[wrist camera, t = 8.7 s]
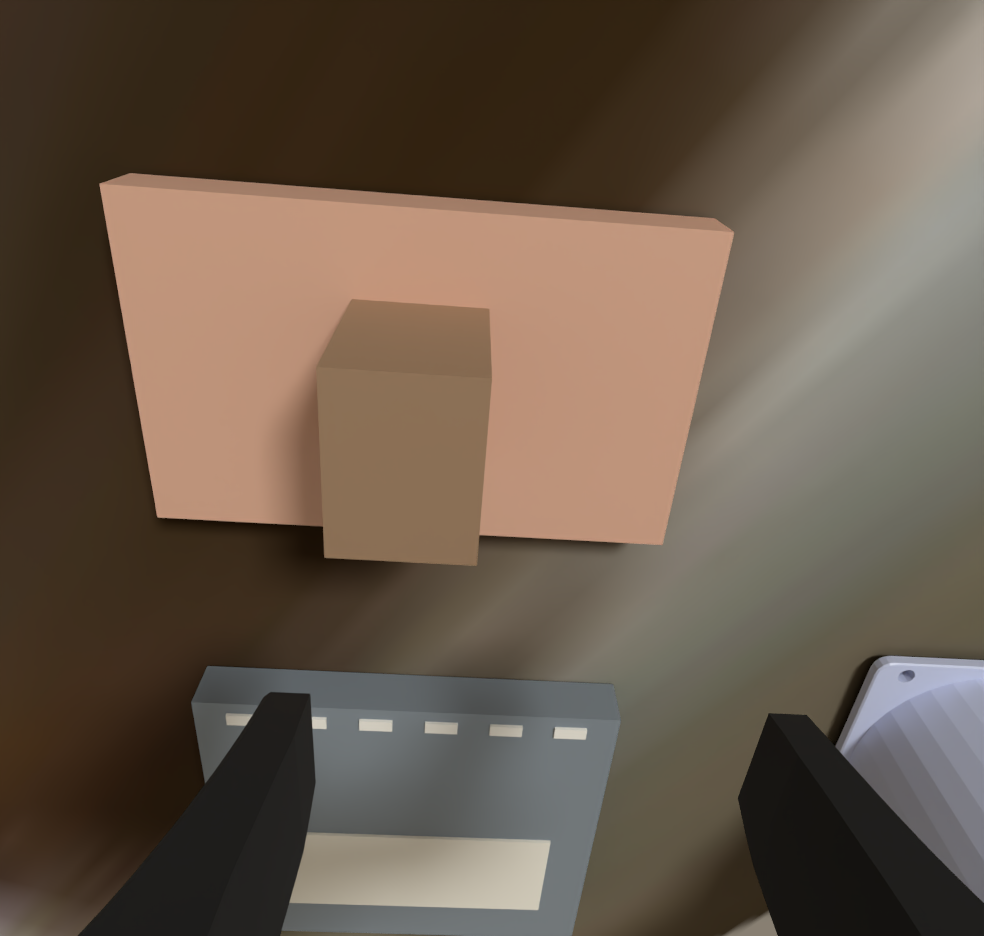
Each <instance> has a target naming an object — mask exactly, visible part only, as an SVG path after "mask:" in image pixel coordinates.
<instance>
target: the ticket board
mask: <svg viewBox="0 0 984 936" xmlns="http://www.w3.org/2000/svg"><path fill="white" fill-rule="evenodd" d="M270 692H285V693H308V694H310V697H311V713H312V729H313V745H314V762H315V778H316V784H315V790H314V796H313V802H312V807H311V813H310V819H309V825H308V830H307V836H306V841H305V847H304V852H303V855H302V859H301V863H300V866H299V870H298V873H297V877H296V881H295V884H294V888H293V891H292V895H291V899H290V902H289V906H288V909H287V913H286V916H285V920H284V923H283V927H282V930H281V931H315V932H352V933H389V934H425V935H462V936H572V932H573V928H574V923H575V919H576V915H577V910H578V906H579V901H580V897H581V893H582V888H583V884H584V880H585V875H586V871H587V867H588V862H589V858H590V853H591V849H592V845H593V840H594V836H595V832H596V827H597V823H598V818H599V814H600V810H601V805H602V801H603V797H604V792H605V788H606V783H607V779H608V775H609V770H610V766H611V762H612V757H613V753H614V749H615V744H616V740H617V735H618V731H619V727H620V722H621V719H620V714H619V709H618V704H617V700H616V695H615V690H614V686H613V684H598V683H576V682H554V681H531V680H509V679H487V678H464V677H442V676H420V675H397V674H375V673H353V672H330V671H308V670H286V669H263V668H241V667H219V666H207V668H206V670H205V672H204V675H203V677H202V679H201V681H200V684H199V686H198V688H197V690H196V693H195V695H194V697H193V699H192V702H191V704H192V710H193V716H194V722H195V727H196V733H197V739H198V745H199V751H200V756H201V762H202V768H203V774H204V780H205V783H206V782H207V781H208V779H209V778H210V777H211V775H212V774H213V773H214V771H215V770H216V768H217V767H218V766H219V764H220V763H221V761H222V760H223V758H224V757H225V756H226V754H227V753H228V751H229V750H230V748H231V747H232V745H233V744H234V742H235V741H236V740H237V738H238V737H239V735H240V734H241V732H242V731H243V729H244V727H245V726H246V724H247V723H248V721H249V720H250V718H251V717H252V715H253V713H254V712H255V710H256V709H257V707H258V705H259V704H260V702H261V700H262V699H263V697H264V696H265V695H267V694H268V693H270Z"/></svg>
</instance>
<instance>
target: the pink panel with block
mask: <svg viewBox="0 0 984 936" xmlns="http://www.w3.org/2000/svg"><path fill="white" fill-rule="evenodd" d="M100 190H101V195H102V201H103V207H104V213H105V218H106V224H107V230H108V236H109V241H110V247H111V253H112V259H113V264H114V270H115V276H116V282H117V287H118V293H119V299H120V305H121V310H122V316H123V322H124V328H125V333H126V339H127V345H128V351H129V357H130V362H131V368H132V374H133V380H134V385H135V391H136V397H137V403H138V408H139V414H140V420H141V426H142V431H143V437H144V443H145V449H146V454H147V460H148V466H149V472H150V477H151V483H152V489H153V495H154V500H155V506H156V512H157V517H159V518H177V519H196V520H214V521H232V522H251V523H269V524H287V525H306V526H323V537H324V558H338V559H357V560H376V561H395V562H414V563H433V564H452V565H471V566H477V557H478V545H479V535H489V536H508V537H526V538H544V539H563V540H581V541H599V542H618V543H636V544H655V545H663V540H664V536H665V532H666V527H667V523H668V518H669V514H670V510H671V505H672V501H673V497H674V492H675V488H676V484H677V479H678V475H679V471H680V466H681V462H682V458H683V453H684V449H685V445H686V440H687V436H688V431H689V427H690V423H691V418H692V414H693V410H694V405H695V401H696V397H697V392H698V388H699V384H700V379H701V375H702V371H703V366H704V362H705V358H706V353H707V349H708V344H709V340H710V336H711V331H712V327H713V323H714V318H715V314H716V310H717V305H718V301H719V297H720V292H721V288H722V284H723V279H724V275H725V271H726V266H727V262H728V257H729V253H730V249H731V244H732V240H733V236H734V232H733V231H732V230H730V229H729V228H728V227H726V226H725V225H723V224H722V223H720V222H719V221H717V220H716V219H715V218H703V217H690V216H677V215H664V214H651V213H638V212H625V211H612V210H599V209H587V208H574V207H561V206H548V205H535V204H522V203H509V202H496V201H483V200H470V199H457V198H444V197H431V196H418V195H405V194H392V193H379V192H366V191H353V190H340V189H327V188H314V187H301V186H288V185H275V184H262V183H249V182H236V181H224V180H211V179H198V178H185V177H172V176H159V175H146V174H133V173H130V174H127V175H124V176H121V177H118V178H115V179H112V180H109V181H106V182H103V183H100Z"/></svg>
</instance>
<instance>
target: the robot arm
mask: <svg viewBox="0 0 984 936" xmlns="http://www.w3.org/2000/svg"><path fill="white" fill-rule="evenodd" d="M903 671H904V672H903ZM315 784H316V778H315V762H314V745H313V729H312V713H311V697H310V694H308V693H285V692H270V693H268V694H267V695H265V696H264V697H263V699H262V700H261V702H260V704H259V705H258V707H257V709H256V710H255V712H254V713H253V715H252V717H251V718H250V720H249V721H248V723H247V724H246V726H245V727H244V729H243V731H242V732H241V734H240V735H239V737H238V738H237V740H236V741H235V742H234V744H233V745H232V747H231V748H230V750H229V751H228V753H227V754H226V756H225V757H224V758H223V760H222V761H221V763H220V764H219V766H218V767H217V768H216V770H215V771H214V773H213V774H212V775H211V777H210V778H209V779H208V781H207V782H206V783H205V785H204V786H203V787H202V789H201V790H200V791H199V793H198V794H197V795H196V797H195V798H194V799H193V801H192V802H191V803H190V805H189V806H188V807H187V809H186V810H185V811H184V813H183V814H182V815H181V817H180V818H179V819H178V820H177V822H176V823H175V824H174V825H173V827H172V828H171V829H170V830H169V832H168V833H167V834H166V835H165V836H164V838H163V839H162V840H161V841H160V843H159V844H158V845H157V846H156V847H155V849H154V850H153V851H152V852H151V853H150V855H149V856H148V857H147V858H146V860H145V861H144V862H143V863H142V864H141V866H140V867H139V868H138V869H137V870H136V872H135V873H134V874H133V875H132V876H131V878H130V879H129V880H128V881H127V882H126V883H125V884H124V886H123V887H122V888H121V889H120V890H119V891H118V892H117V894H116V895H115V896H114V897H113V898H112V899H111V900H110V901H109V903H108V904H107V905H106V906H105V907H104V908H103V909H102V910H101V911H100V912H99V914H98V915H97V916H96V917H95V918H94V919H93V920H92V921H91V922H90V923H89V924H88V925H87V926H86V928H85V929H84V930H83V931H82V932H81V933H80V934H79V935H78V936H280V934H281V930H282V927H283V923H284V920H285V916H286V913H287V909H288V906H289V902H290V899H291V895H292V891H293V888H294V884H295V881H296V877H297V873H298V870H299V866H300V863H301V859H302V855H303V852H304V847H305V841H306V836H307V830H308V825H309V819H310V813H311V807H312V802H313V796H314V790H315ZM738 801H739V805H740V810H741V815H742V819H743V824H744V829H745V833H746V837H747V842H748V846H749V850H750V854H751V858H752V862H753V866H754V869H755V872H756V875H757V878H758V881H759V884H760V887H761V889H762V892H763V895H764V898H765V901H766V904H767V907H768V909H769V912H770V915H771V918H772V921H773V924H774V926H775V929H776V932H777V935H778V936H984V660H968V659H947V658H926V657H905V656H884V657H881V658H879V659H877V660H876V661H875V662H874V663H873V664H872V665H871V667H870V669H869V671H868V674H867V676H866V678H865V680H864V683H863V685H862V687H861V690H860V692H859V694H858V696H857V699H856V701H855V703H854V705H853V708H852V710H851V712H850V714H849V717H848V719H847V721H846V724H845V726H844V728H843V730H842V733H841V735H840V737H839V739H838V742H837V744H836V746H834V745H833V744H832V742H831V741H830V740H829V739H828V738H827V737H826V736H825V735H824V734H823V732H822V731H821V730H820V729H819V728H818V727H817V726H816V725H815V724H814V723H813V722H812V720H811V719H810V718H809V717H808V716H807V715H794V714H771V713H769V714H768V717H767V720H766V723H765V725H764V728H763V731H762V734H761V736H760V739H759V742H758V744H757V747H756V750H755V753H754V755H753V758H752V761H751V764H750V766H749V769H748V772H747V775H746V777H745V780H744V783H743V786H742V788H741V791H740V794H739V796H738Z"/></svg>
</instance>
